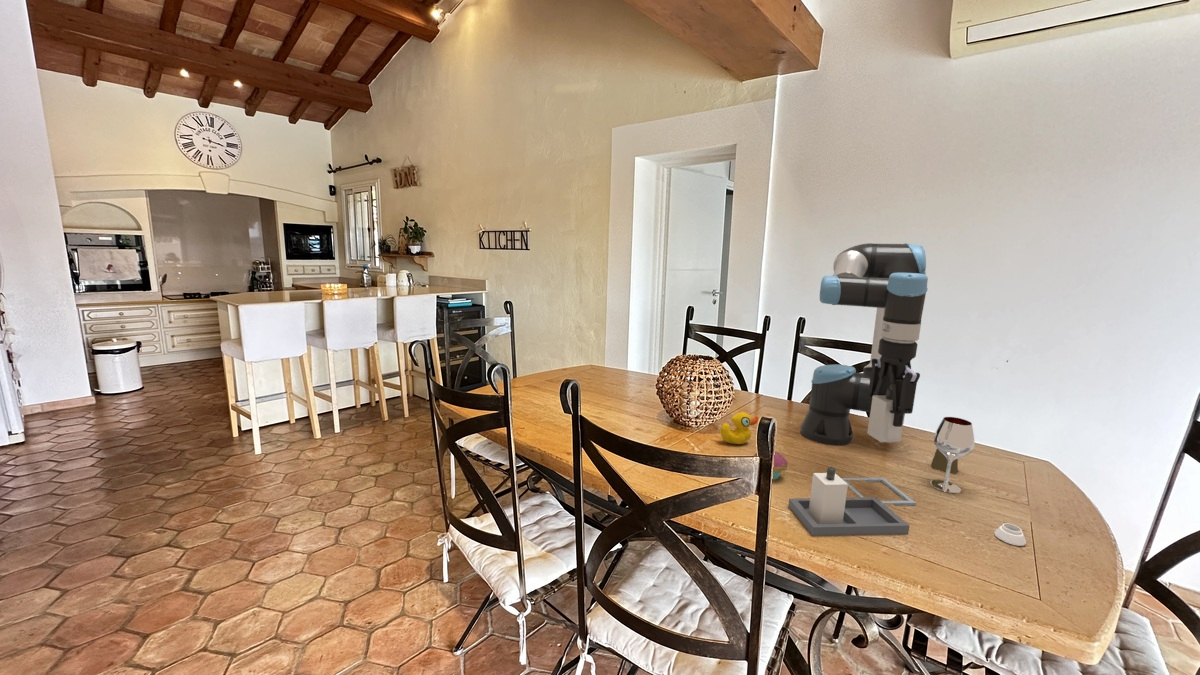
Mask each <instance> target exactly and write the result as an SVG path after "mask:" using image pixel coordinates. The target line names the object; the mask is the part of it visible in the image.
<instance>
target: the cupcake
mask: <svg viewBox="0 0 1200 675" xmlns="http://www.w3.org/2000/svg"><path fill="white" fill-rule="evenodd" d="M774 451H775V455H774V467H773V480H772V481H776V480H778V479H779V478H780V475H781V473H782V472H783V471H786V470H787V469H788V461H787V459H786V458H785V456H784V455H783V454H782V453H780V452H777V451H776V450H774ZM753 456H757V452H756V453H754V455H753Z"/></svg>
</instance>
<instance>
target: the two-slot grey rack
mask: <svg viewBox="0 0 1200 675" xmlns="http://www.w3.org/2000/svg"><path fill="white" fill-rule="evenodd" d="M881 501H882V500H880V499H879V498H878V497H877V496H876V497H875V496H873V497H866V496H864V497H862V498H860V497H846V502H845V509H844V517H843V524H817V523H816V522H815V520H814V519H813V518H812V517H811V516H810V515H809V513H808V512H809V504H810V497H806V498H805V497H803V498H800V497H799V498H792V497H791V498H789V499H788V508H789V509H790V510H791V512H792V513H793V514H794V515H795V517H796V518H797V519H798V520H799V521H800V523H801V524H802V525H803V526H804V527H805V529H806V530H807V531H808V533H809V534H810V535H811V537H822V536H823V537H826V536H827V537H829V536H836V537H837V536H875V535H876V536H880V535H881V536H882V535H885V536H887V535H889V536H890V535H909V531H910V524H908V523H907V522H906V521H905V520H903V519H902V518H901V517H900V516H899V515H898V514H897V513H895V512H894V510H892V509H891V508H890V507H889V506H887V504H884V503H882V502H881Z"/></svg>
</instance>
